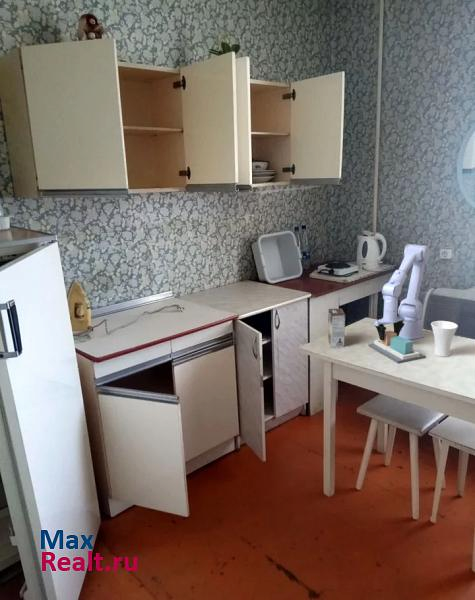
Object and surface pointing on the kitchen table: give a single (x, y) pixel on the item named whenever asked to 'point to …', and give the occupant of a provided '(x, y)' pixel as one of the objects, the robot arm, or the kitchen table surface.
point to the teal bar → (402, 345)
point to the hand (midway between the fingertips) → (388, 338)
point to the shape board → (395, 353)
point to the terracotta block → (388, 338)
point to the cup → (443, 337)
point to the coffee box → (336, 327)
